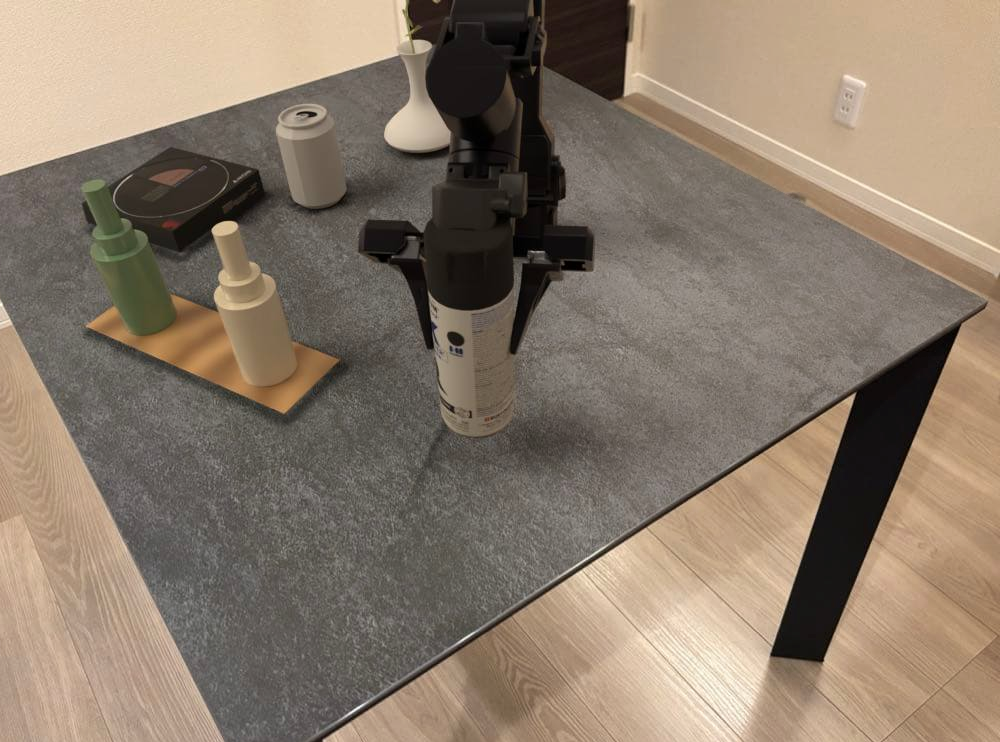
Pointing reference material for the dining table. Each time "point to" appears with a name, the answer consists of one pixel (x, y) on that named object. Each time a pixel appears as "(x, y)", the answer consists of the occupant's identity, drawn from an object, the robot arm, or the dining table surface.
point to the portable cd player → (183, 196)
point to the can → (311, 155)
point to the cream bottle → (251, 313)
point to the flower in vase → (416, 103)
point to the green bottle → (128, 266)
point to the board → (216, 353)
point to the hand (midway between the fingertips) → (471, 352)
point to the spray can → (472, 325)
